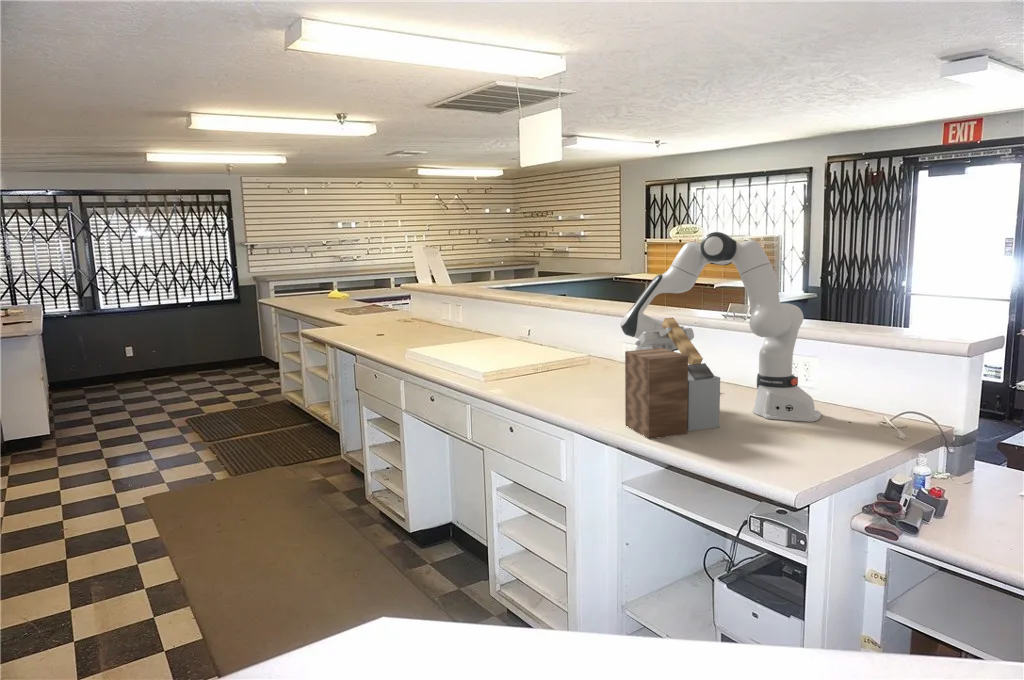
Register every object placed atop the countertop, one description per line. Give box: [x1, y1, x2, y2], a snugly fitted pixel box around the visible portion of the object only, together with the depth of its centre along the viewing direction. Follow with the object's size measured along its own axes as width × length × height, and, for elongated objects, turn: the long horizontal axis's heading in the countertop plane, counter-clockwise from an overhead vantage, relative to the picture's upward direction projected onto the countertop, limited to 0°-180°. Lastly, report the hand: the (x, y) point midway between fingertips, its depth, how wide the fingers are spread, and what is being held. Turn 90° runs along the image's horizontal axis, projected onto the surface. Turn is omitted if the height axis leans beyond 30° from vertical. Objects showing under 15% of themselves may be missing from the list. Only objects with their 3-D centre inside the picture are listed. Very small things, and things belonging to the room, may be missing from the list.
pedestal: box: [624, 348, 689, 439], centre depth 219 cm, size 16×14×26 cm
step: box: [687, 371, 721, 432], centre depth 226 cm, size 14×12×17 cm
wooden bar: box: [662, 317, 715, 380], centre depth 227 cm, size 28×7×4 cm
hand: (676, 328), depth 232 cm, fingers closed on wooden bar, 3 cm apart
